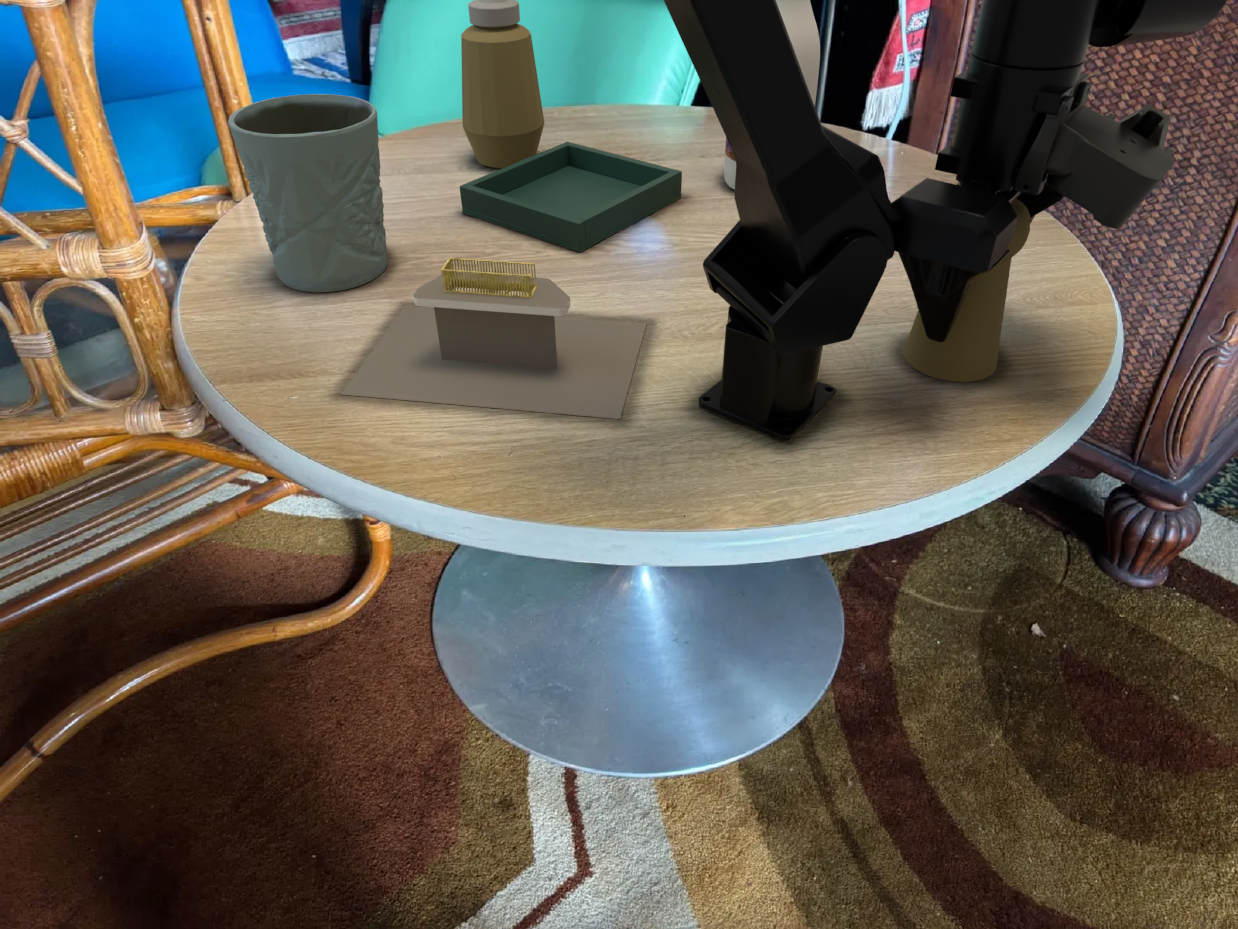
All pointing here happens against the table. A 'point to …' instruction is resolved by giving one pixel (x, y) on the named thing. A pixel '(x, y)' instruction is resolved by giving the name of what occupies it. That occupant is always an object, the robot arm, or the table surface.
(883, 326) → the table surface
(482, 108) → the squeeze bottle
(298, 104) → the embossed green cup
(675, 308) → the table surface
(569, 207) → the serving tray
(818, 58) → the milk bottle
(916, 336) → the brown game pawn
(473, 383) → the platform
